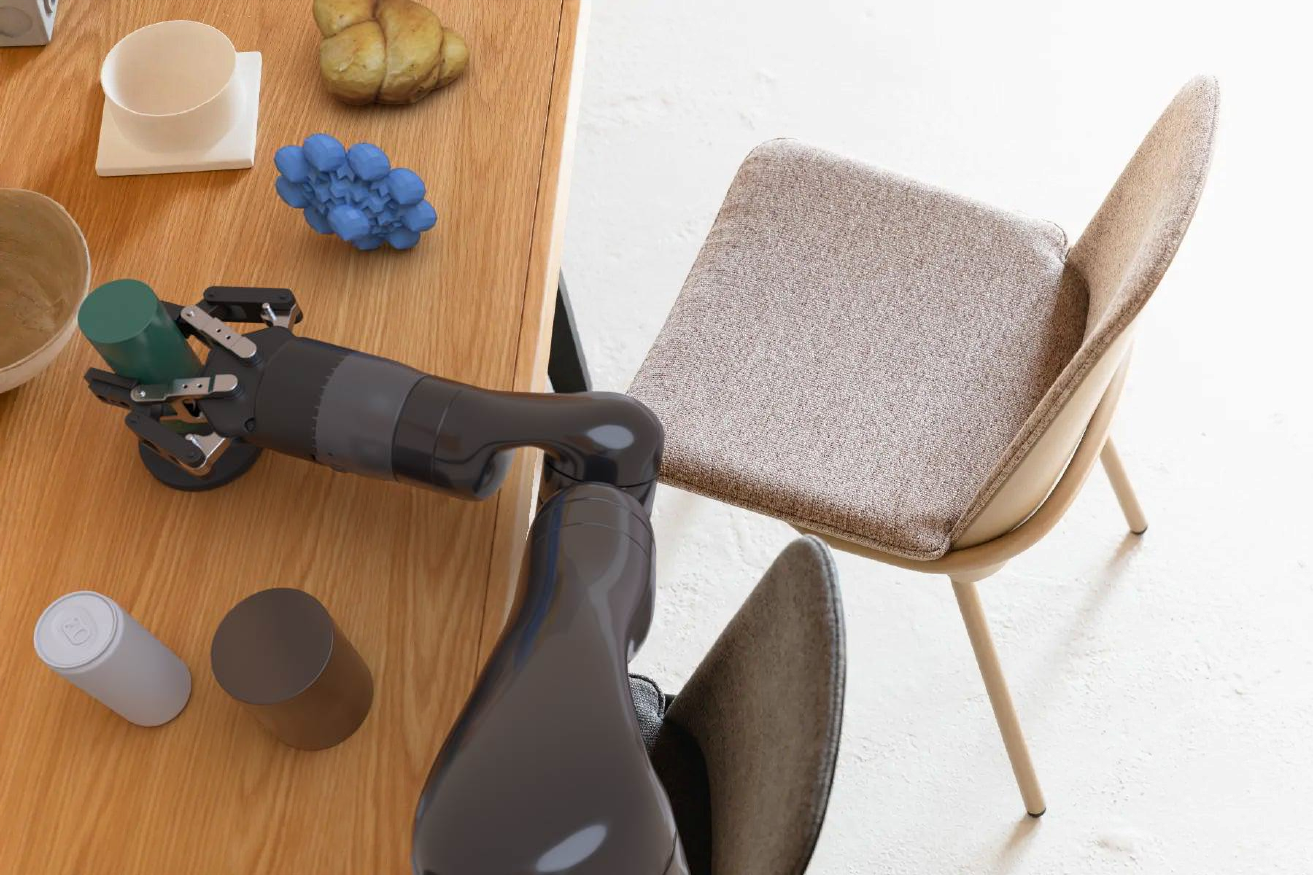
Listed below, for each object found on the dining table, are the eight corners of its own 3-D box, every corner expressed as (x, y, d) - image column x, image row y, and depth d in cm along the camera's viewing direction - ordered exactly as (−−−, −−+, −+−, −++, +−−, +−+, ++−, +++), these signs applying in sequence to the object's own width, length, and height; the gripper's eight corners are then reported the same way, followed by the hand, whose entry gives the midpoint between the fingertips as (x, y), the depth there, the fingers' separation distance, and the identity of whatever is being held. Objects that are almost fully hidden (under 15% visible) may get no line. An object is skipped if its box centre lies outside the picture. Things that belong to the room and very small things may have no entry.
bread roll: (478, 43, 104) (464, -32, 97) (464, 123, 99) (447, 50, 92) (336, 40, 105) (311, -36, 98) (315, 120, 100) (287, 47, 93)
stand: (297, 773, 73) (245, 730, 64) (245, 686, 76) (188, 633, 67) (394, 705, 75) (356, 654, 66) (339, 623, 78) (296, 564, 69)
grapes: (289, 286, 91) (239, 182, 81) (307, 218, 95) (261, 110, 84) (436, 292, 91) (405, 188, 80) (449, 223, 94) (420, 115, 84)
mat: (177, 515, 82) (171, 509, 81) (122, 427, 85) (116, 420, 84) (290, 446, 84) (286, 439, 83) (232, 363, 88) (228, 356, 87)
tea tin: (168, 445, 79) (96, 356, 70) (138, 398, 81) (64, 305, 72) (232, 408, 80) (170, 315, 71) (201, 362, 82) (136, 266, 73)
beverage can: (169, 642, 77) (89, 571, 67) (210, 692, 76) (135, 628, 65) (106, 692, 76) (14, 628, 65) (146, 745, 74) (58, 688, 63)
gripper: (384, 286, 73) (145, 225, 76) (281, 480, 67) (23, 406, 69) (409, 352, 80) (188, 294, 83) (317, 535, 73) (81, 465, 76)
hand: (114, 346), depth 76 cm, fingers closed on tea tin, 5 cm apart
